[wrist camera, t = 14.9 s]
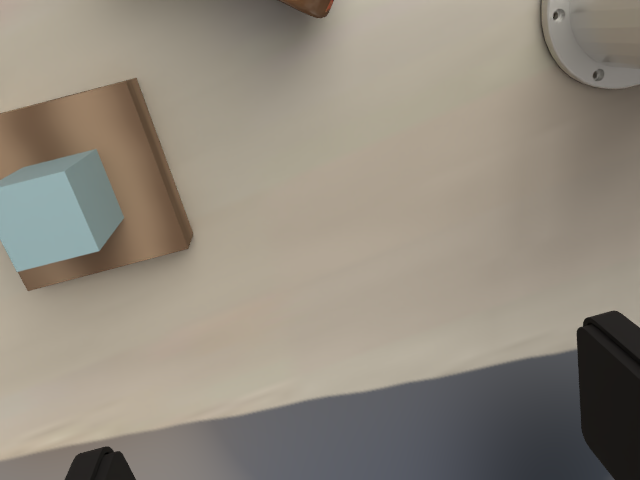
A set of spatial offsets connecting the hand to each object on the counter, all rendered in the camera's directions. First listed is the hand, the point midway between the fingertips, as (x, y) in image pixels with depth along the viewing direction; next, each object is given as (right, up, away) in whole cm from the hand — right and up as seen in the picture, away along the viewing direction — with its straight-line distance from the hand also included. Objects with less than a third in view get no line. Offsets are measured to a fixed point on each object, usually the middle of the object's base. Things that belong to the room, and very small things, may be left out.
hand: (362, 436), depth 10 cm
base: (-18, +8, +27) cm, 34 cm away
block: (-18, +7, +25) cm, 31 cm away
